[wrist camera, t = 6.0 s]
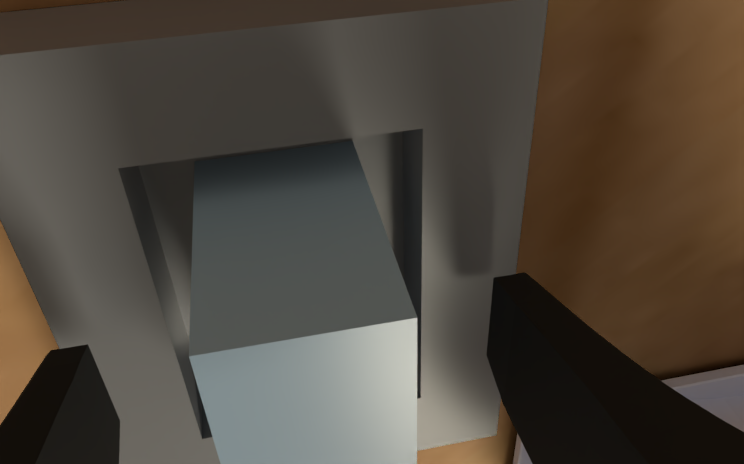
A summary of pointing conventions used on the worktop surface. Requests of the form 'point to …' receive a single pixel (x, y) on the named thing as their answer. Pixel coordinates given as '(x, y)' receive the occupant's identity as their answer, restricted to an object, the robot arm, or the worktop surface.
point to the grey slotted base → (257, 135)
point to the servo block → (300, 313)
